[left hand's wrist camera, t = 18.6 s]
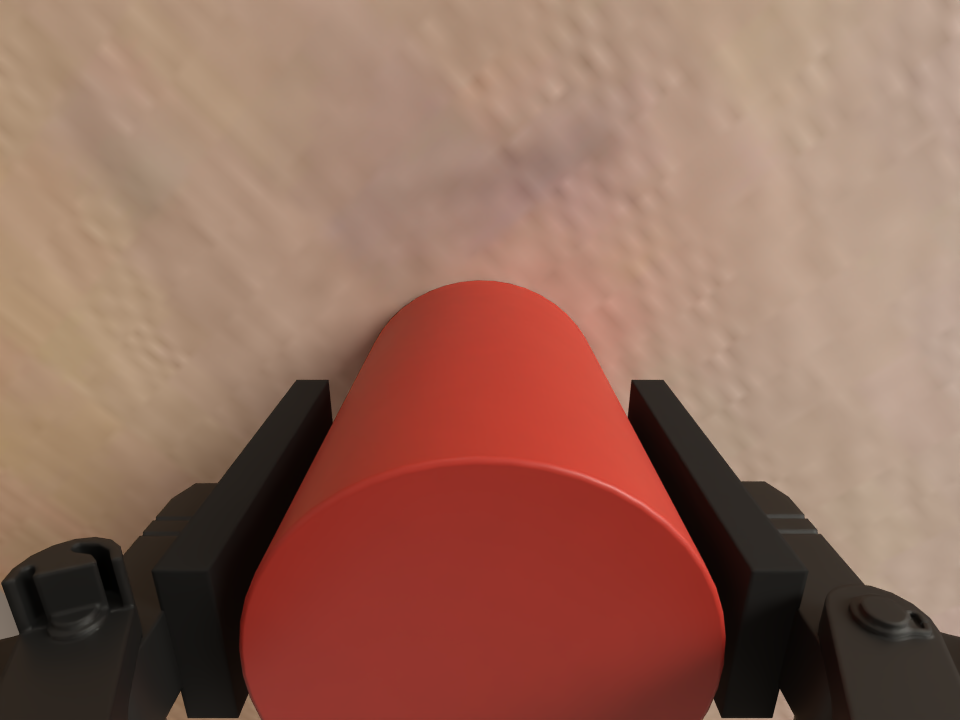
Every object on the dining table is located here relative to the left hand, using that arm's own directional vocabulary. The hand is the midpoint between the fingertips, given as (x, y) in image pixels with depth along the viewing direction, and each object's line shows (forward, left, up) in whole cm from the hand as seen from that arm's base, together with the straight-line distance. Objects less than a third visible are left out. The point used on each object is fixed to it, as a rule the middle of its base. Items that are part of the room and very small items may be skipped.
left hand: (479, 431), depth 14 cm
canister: (0, 0, -2) cm, 2 cm away
